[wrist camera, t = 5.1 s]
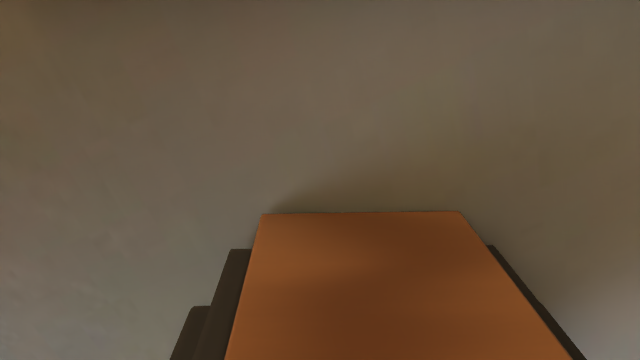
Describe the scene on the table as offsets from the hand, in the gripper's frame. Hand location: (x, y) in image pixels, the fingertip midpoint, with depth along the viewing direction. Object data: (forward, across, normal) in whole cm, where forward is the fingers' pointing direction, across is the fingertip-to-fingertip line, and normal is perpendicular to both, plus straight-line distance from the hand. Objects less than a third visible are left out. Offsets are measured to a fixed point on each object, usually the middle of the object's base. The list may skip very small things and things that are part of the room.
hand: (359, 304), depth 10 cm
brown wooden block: (0, 0, 0) cm, 0 cm away
